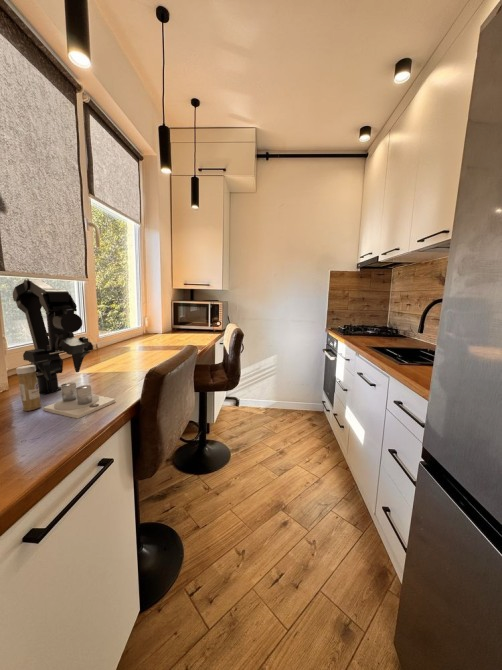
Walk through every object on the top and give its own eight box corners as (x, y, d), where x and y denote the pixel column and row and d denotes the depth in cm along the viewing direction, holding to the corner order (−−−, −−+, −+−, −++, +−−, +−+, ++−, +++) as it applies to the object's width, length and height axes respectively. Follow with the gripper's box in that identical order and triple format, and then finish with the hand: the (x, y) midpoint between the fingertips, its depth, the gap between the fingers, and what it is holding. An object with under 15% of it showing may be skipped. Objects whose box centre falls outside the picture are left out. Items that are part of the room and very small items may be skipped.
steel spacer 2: (74, 403, 82) (72, 388, 81) (86, 399, 85) (85, 384, 85) (83, 405, 80) (82, 390, 79) (95, 401, 84) (94, 386, 83)
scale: (43, 410, 80) (43, 405, 80) (83, 395, 92) (83, 391, 92) (77, 418, 75) (77, 413, 75) (115, 401, 87) (115, 397, 87)
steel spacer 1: (59, 400, 84) (57, 385, 83) (71, 396, 88) (70, 381, 87) (67, 402, 83) (66, 387, 82) (80, 397, 86) (78, 383, 86)
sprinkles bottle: (40, 408, 81) (34, 366, 79) (21, 412, 78) (14, 369, 77) (42, 404, 85) (36, 363, 83) (24, 408, 82) (17, 366, 80)
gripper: (43, 335, 73) (49, 388, 75) (103, 327, 90) (106, 371, 92) (19, 332, 77) (25, 383, 79) (80, 325, 94) (84, 367, 96)
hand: (63, 375), depth 86 cm, fingers open, 9 cm apart
